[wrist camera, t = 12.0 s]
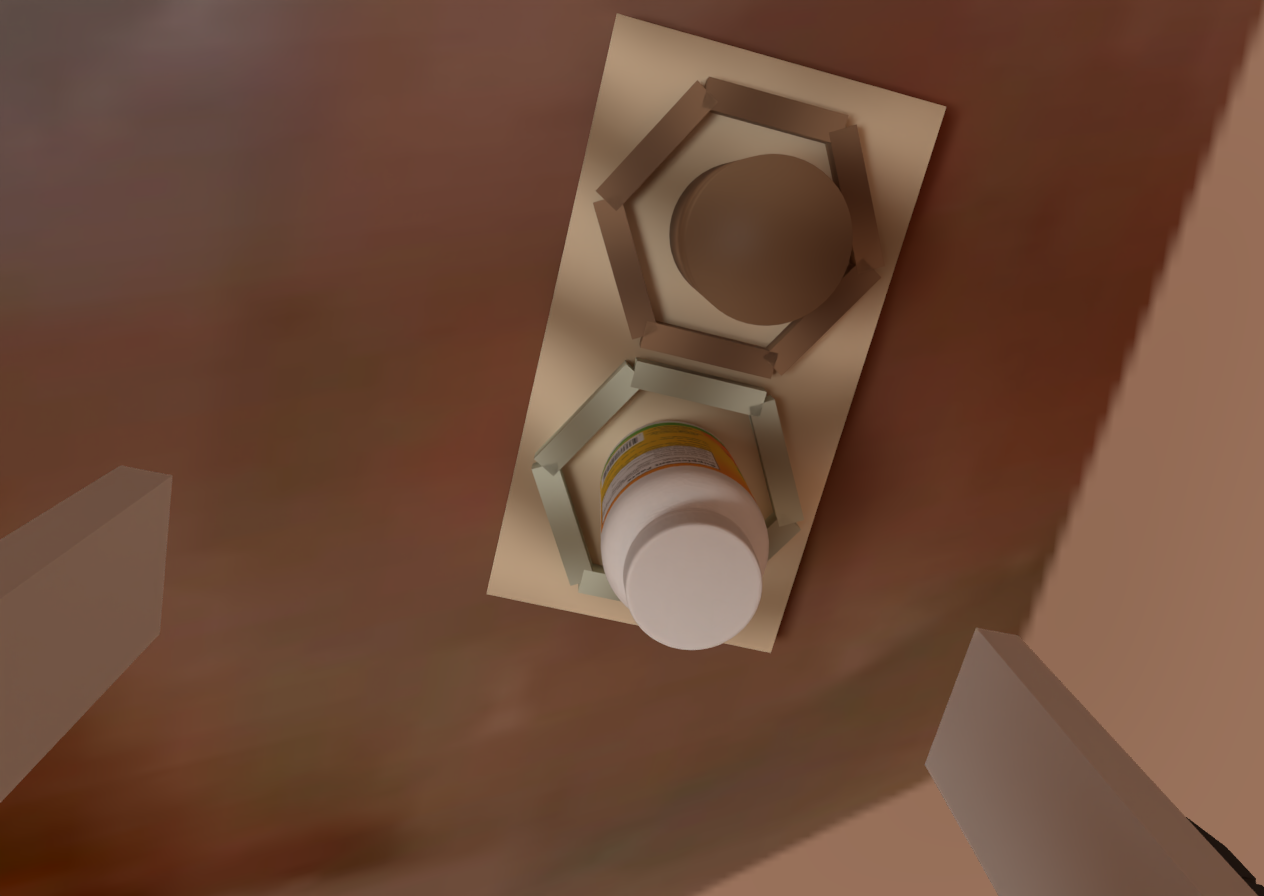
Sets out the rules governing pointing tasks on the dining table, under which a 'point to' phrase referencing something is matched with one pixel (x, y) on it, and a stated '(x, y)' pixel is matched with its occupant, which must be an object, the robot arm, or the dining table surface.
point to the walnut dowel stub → (762, 238)
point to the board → (701, 306)
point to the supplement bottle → (681, 535)
